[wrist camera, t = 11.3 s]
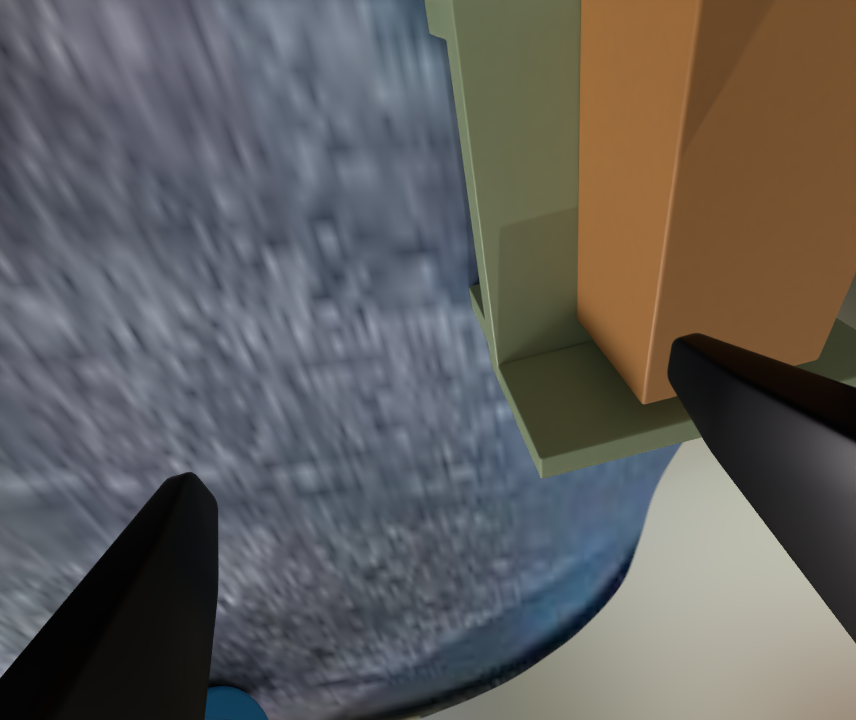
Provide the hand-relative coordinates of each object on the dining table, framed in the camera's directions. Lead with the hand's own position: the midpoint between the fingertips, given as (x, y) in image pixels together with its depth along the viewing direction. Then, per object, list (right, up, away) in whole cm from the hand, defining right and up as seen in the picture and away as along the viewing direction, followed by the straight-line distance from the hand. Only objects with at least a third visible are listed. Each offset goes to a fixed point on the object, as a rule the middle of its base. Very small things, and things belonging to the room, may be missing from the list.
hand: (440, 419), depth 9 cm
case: (+6, +7, +5) cm, 10 cm away
